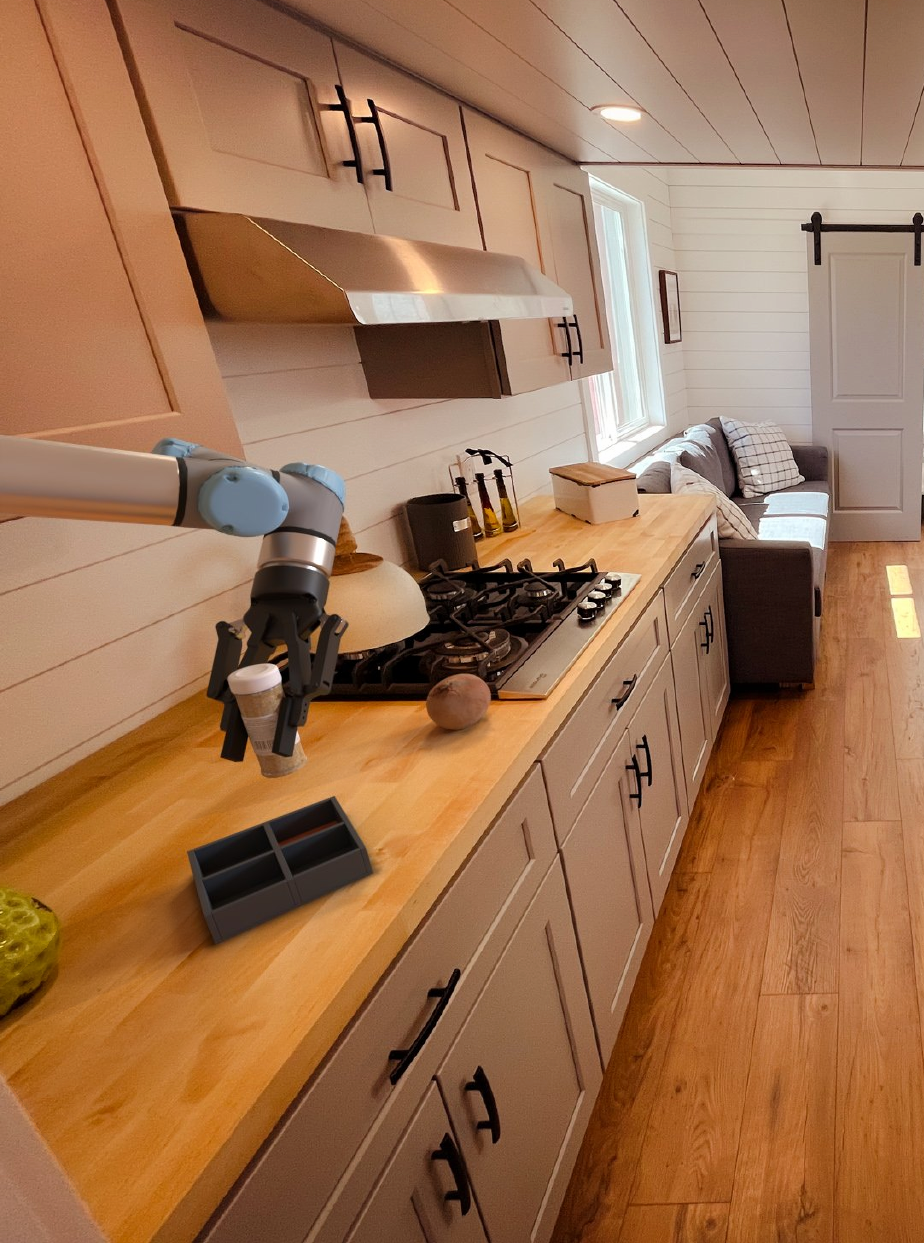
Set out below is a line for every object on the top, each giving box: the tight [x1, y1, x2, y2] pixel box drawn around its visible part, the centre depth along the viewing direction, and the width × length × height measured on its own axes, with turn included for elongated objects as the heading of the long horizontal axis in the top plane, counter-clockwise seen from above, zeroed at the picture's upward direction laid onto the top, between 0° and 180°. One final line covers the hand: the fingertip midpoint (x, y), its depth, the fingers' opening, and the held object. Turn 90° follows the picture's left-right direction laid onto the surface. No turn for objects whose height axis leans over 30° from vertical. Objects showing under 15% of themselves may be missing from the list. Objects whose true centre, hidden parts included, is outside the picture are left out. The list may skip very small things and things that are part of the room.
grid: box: [186, 795, 374, 946], centre depth 86 cm, size 15×15×4 cm
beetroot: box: [425, 673, 492, 731], centre depth 119 cm, size 10×9×10 cm
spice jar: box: [228, 663, 308, 779], centre depth 84 cm, size 5×5×13 cm
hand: (257, 756), depth 82 cm, fingers closed on spice jar, 4 cm apart
